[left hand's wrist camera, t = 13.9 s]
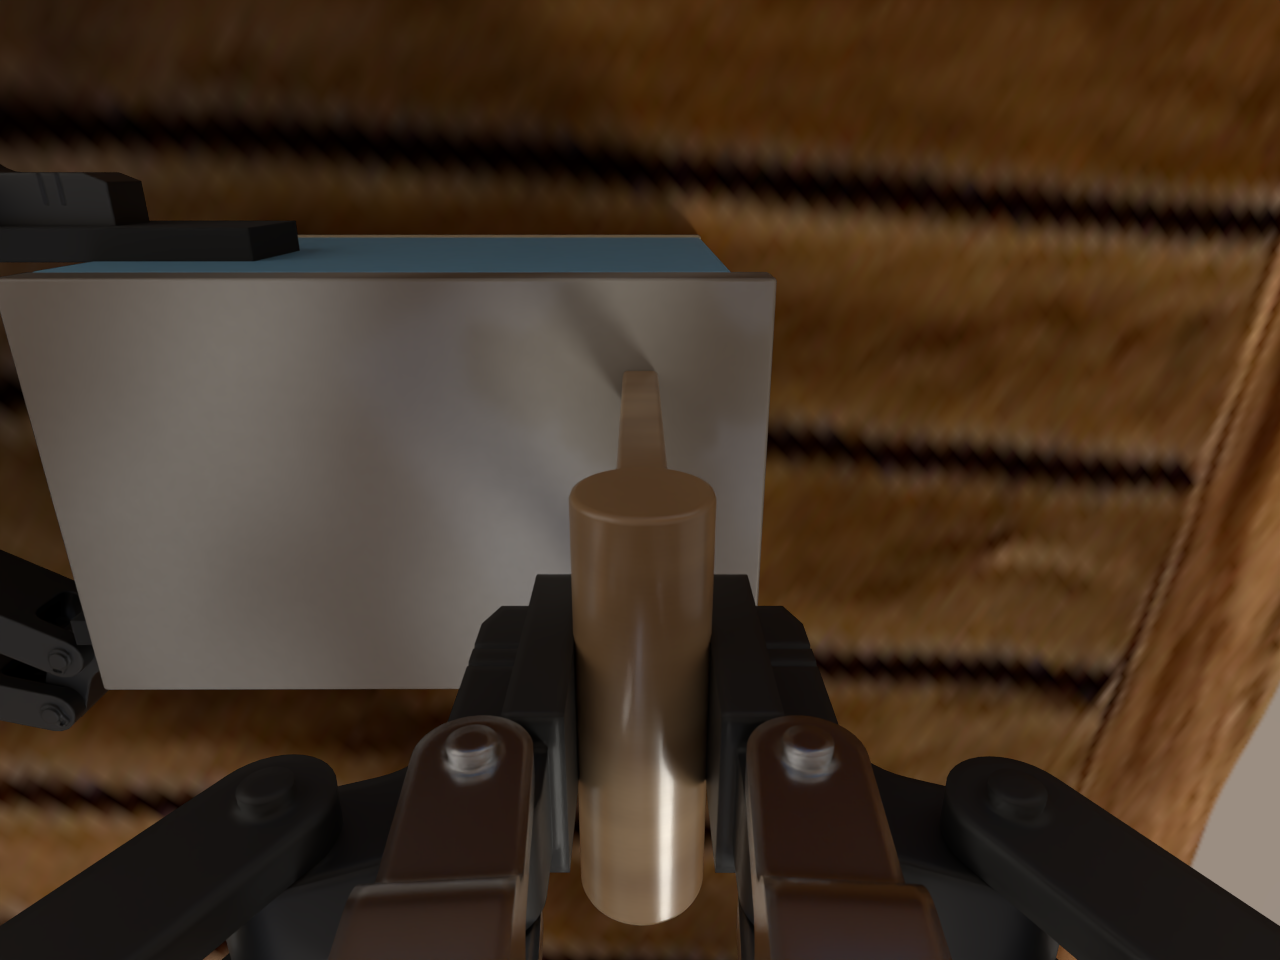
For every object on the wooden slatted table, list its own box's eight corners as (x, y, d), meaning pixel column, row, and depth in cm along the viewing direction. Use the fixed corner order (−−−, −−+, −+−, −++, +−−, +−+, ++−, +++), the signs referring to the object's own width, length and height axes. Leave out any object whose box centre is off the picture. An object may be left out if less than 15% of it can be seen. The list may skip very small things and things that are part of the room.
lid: (769, 271, 17) (900, 372, 8) (747, 664, 20) (825, 1012, 12) (26, 272, 17) (-581, 373, 8) (129, 665, 20) (-231, 1016, 12)
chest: (698, 234, 26) (733, 271, 17) (692, 506, 29) (717, 664, 20) (247, 234, 26) (27, 271, 17) (292, 506, 29) (129, 664, 20)
